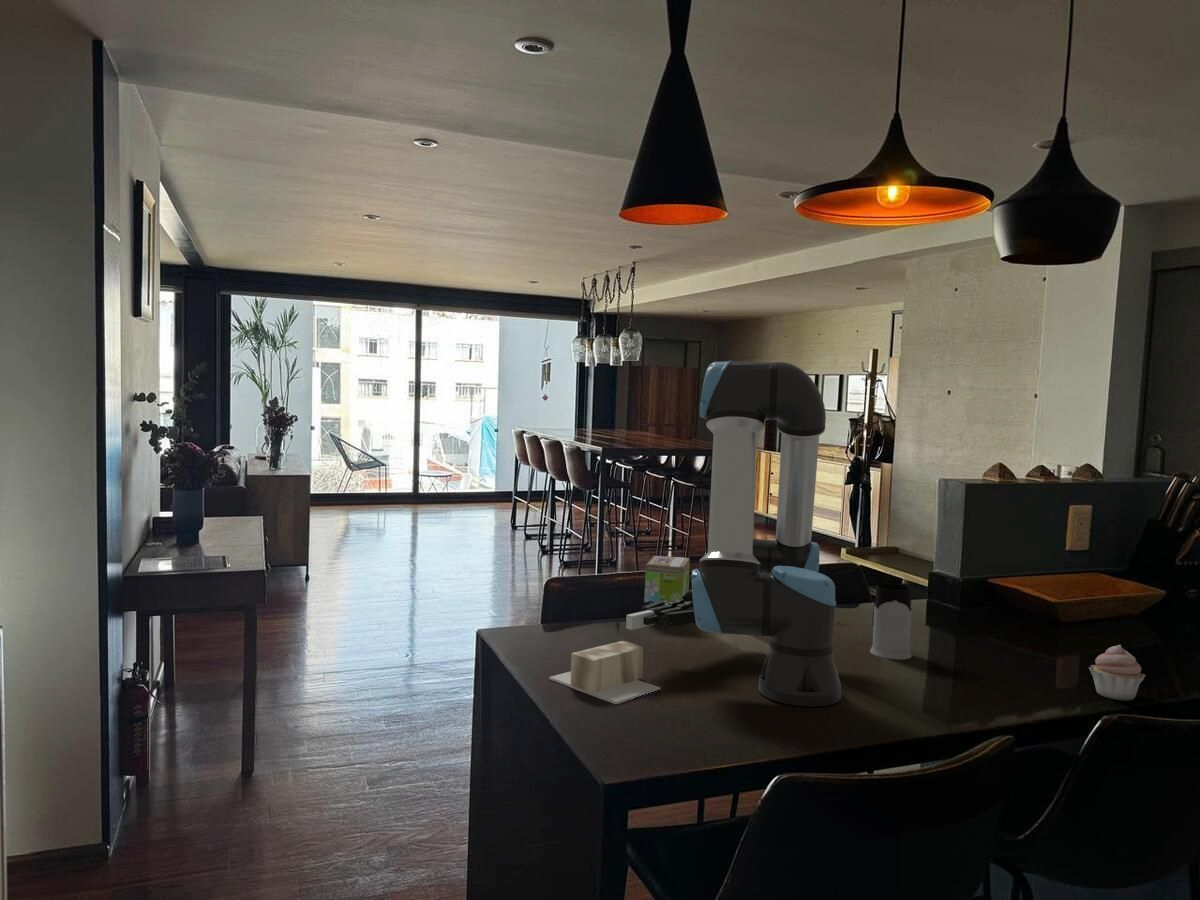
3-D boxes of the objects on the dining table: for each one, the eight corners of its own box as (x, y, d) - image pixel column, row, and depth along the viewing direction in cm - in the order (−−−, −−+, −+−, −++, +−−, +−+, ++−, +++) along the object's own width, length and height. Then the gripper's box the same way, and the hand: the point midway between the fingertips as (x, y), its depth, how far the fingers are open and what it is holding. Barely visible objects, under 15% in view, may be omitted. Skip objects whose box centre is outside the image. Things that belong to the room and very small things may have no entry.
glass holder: (871, 657, 183) (874, 589, 182) (866, 640, 197) (869, 577, 196) (914, 661, 181) (917, 592, 180) (906, 644, 195) (909, 580, 194)
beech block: (645, 647, 162) (593, 660, 153) (644, 677, 163) (592, 693, 153) (623, 640, 167) (571, 653, 157) (622, 670, 167) (570, 684, 157)
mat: (660, 690, 157) (660, 687, 157) (615, 704, 149) (615, 701, 149) (593, 667, 170) (594, 665, 170) (549, 679, 161) (549, 676, 161)
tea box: (682, 626, 206) (684, 566, 205) (642, 622, 208) (644, 563, 207) (688, 612, 221) (690, 556, 220) (650, 609, 223) (652, 554, 222)
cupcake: (1132, 707, 155) (1135, 654, 155) (1079, 693, 163) (1081, 642, 162) (1153, 698, 161) (1156, 647, 160) (1100, 685, 168) (1103, 635, 168)
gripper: (728, 628, 175) (653, 648, 159) (681, 616, 185) (605, 634, 168) (730, 593, 175) (654, 609, 159) (682, 583, 184) (606, 597, 168)
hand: (629, 622), depth 163 cm, fingers closed
